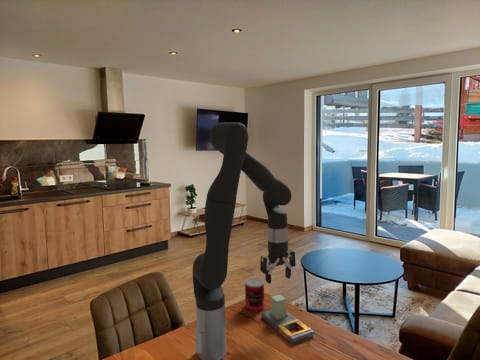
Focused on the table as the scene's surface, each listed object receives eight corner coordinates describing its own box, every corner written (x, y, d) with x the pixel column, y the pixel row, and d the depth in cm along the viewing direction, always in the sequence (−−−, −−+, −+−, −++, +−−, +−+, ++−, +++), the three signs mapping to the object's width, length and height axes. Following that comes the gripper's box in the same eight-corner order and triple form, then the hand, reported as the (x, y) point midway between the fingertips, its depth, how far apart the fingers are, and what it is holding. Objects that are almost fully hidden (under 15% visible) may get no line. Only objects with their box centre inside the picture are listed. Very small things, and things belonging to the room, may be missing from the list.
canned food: (255, 300, 146) (254, 276, 145) (268, 307, 140) (268, 282, 138) (241, 306, 141) (240, 281, 140) (254, 314, 135) (253, 287, 134)
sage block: (277, 323, 128) (276, 301, 127) (271, 318, 131) (271, 296, 130) (286, 321, 130) (285, 298, 128) (280, 316, 133) (279, 294, 132)
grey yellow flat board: (292, 344, 115) (292, 338, 115) (261, 317, 133) (261, 311, 133) (313, 336, 119) (313, 330, 119) (281, 311, 137) (280, 305, 137)
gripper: (266, 244, 120) (267, 288, 122) (299, 238, 126) (299, 279, 128) (256, 239, 126) (257, 280, 128) (287, 233, 133) (288, 272, 135)
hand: (278, 280), depth 128 cm, fingers open, 8 cm apart
